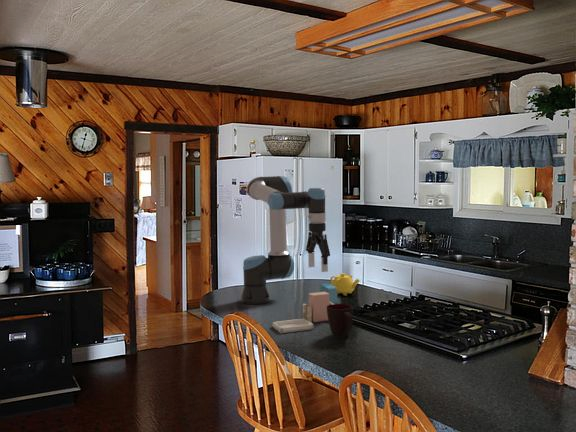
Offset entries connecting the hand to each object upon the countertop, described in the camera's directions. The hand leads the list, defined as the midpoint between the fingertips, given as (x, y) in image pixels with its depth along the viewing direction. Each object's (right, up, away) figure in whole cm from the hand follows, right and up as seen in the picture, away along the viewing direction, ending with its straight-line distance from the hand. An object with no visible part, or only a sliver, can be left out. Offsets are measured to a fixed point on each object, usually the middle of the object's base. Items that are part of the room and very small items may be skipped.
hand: (317, 269), depth 258 cm
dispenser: (+1, -23, +3) cm, 23 cm away
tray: (-11, -24, -10) cm, 29 cm away
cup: (+9, -25, -24) cm, 36 cm away
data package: (+6, -22, +20) cm, 30 cm away
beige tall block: (+1, -23, +3) cm, 23 cm away
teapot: (+18, -19, +55) cm, 60 cm away
